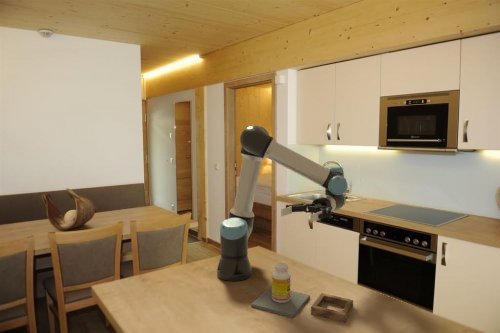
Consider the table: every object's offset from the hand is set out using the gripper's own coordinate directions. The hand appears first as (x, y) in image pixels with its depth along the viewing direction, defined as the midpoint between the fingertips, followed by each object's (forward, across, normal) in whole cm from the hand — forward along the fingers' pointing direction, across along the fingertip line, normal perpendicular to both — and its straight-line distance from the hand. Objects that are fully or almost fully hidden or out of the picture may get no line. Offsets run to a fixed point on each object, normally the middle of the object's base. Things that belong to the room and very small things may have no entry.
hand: (296, 215), depth 133 cm
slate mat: (+11, 0, -30) cm, 32 cm away
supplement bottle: (+11, 0, -29) cm, 31 cm away
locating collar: (+5, -17, -30) cm, 35 cm away
